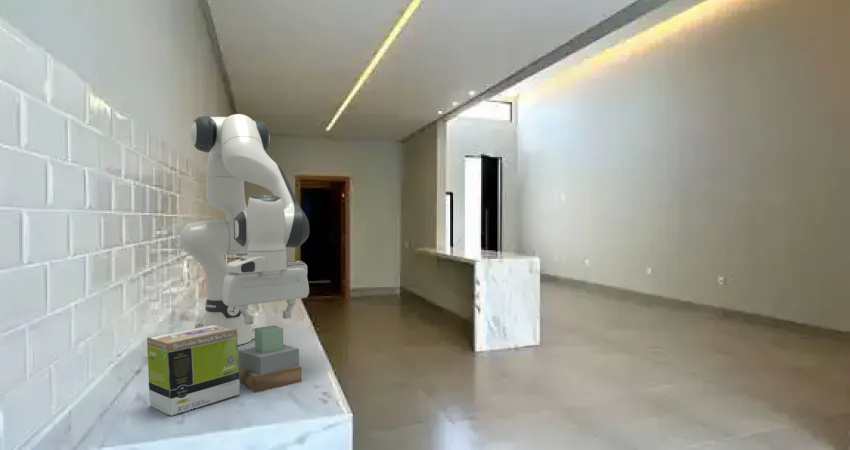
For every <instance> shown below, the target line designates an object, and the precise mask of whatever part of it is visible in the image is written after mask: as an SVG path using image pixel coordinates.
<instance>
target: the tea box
mask: <svg viewBox="0 0 850 450" xmlns="http://www.w3.org/2000/svg"><path fill="white" fill-rule="evenodd" d="M146 343H147V345H146V347H147V362H148V364H147V368H148V369H147V370H148V395H149V404H150V406H151V407H152V408H154V409H155V410H157V411H160V412H161V413H163V412H164V414H165V413H166V415H168V416H170V415H171V417H172V416H175V415H178V413H179V414H181V412H182V413H185V412H188V411H191V409H192V410H194V408H195V409H198V408H201V407H204V406H207V405H210V404H214V403H216V402H220V401H224V400H227V399H229V398H232V397H236V396H239V395H241V387H240V386H241V385H240V384H241V383H240V381H239V360H238V351H239V347H238V346H239V345H238V341H237V329H233V328H227V327H222V326H217V325H209V326H204V327H200V328H195V327H193V328H191V329H184V330H179V331H174V332H173V331H172V332H169V333H165V334H164V333H163V334H160V335H153V336H149V337H147V338H146Z"/></svg>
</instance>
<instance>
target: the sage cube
mask: <svg viewBox="0 0 850 450" xmlns="http://www.w3.org/2000/svg"><path fill="white" fill-rule="evenodd" d="M254 334H255V339H254V347H255V349H256V350H257V351H259V352H261V353H267V352H272V351H278V350H283V349H284V347H283V344H284V328H283V327H280V326H278V325H275V324H273V325H267V326H262V327H260V326H259V327H255V328H254Z"/></svg>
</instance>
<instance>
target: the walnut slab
mask: <svg viewBox="0 0 850 450" xmlns="http://www.w3.org/2000/svg"><path fill="white" fill-rule="evenodd" d="M302 380H303V379H302V365H299V366H295V367H291V368H287V369H283V370H279V371H276V372H272V373H268V374H264V375H258V374H256V373H253V372H250V371H247V370H244V369H242V368H239V381H240V384H241V385H242V386H244V387H245V388H247V387H248V389H249V390H251V391H252V390H253V393H256V392H257V393H260V391H261V392H265V391H268V389H269V390H273V389H277V388H280V387H285V385H286V386H289V384H290V385H294V384H298V383H301V382H302ZM276 387H277V388H276ZM272 388H273V389H272Z"/></svg>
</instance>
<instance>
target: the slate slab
mask: <svg viewBox="0 0 850 450" xmlns="http://www.w3.org/2000/svg"><path fill="white" fill-rule="evenodd" d="M283 347H284V349H283V350H278V351H272V352H267V353H261V352H259V351H257V350H256V349H255V346H254V347H248V348H244V349H240V350H239V349H238V360H239V368H242V369H244V370H247V371H250V372H253V373H256V374H258V375H264V374H268V373H272V372H276V371H279V370H283V369H287V368H291V367H295V366H300V349H299V347H294V346H291V345H287V344H284V343H283Z"/></svg>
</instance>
